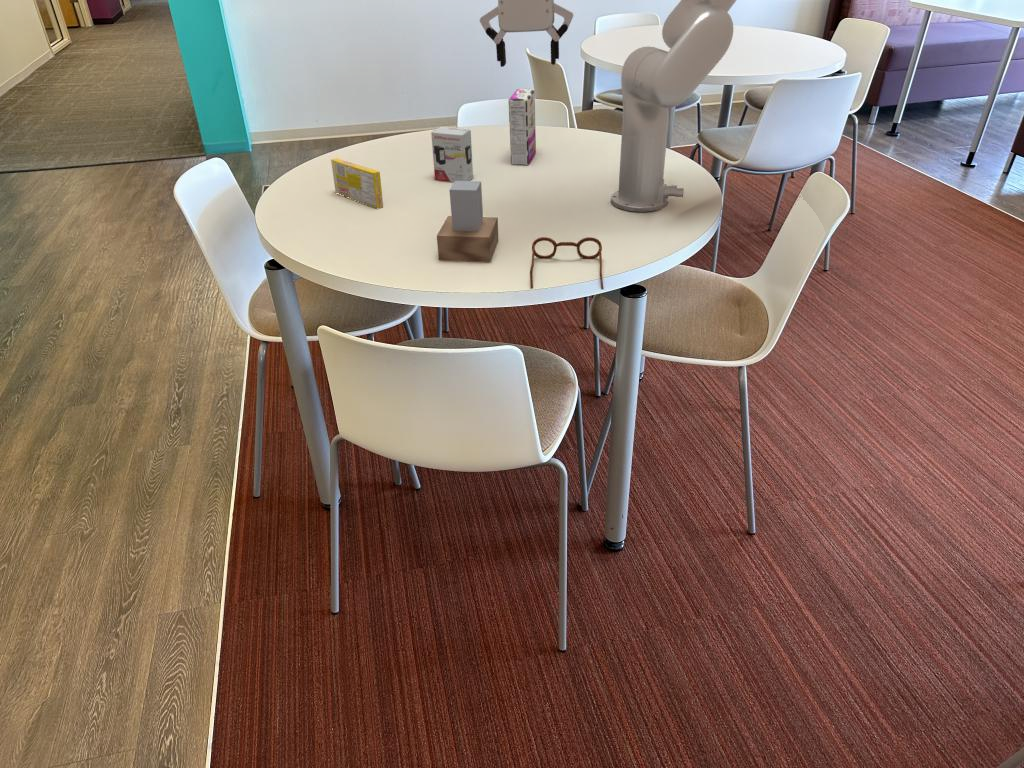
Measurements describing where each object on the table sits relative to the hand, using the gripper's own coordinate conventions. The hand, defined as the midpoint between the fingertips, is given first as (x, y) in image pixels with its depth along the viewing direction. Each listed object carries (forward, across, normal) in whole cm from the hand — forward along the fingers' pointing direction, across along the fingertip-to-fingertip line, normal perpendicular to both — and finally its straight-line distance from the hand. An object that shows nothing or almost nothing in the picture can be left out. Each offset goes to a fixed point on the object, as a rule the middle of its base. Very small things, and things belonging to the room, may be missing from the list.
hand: (528, 64), depth 137 cm
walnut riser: (+30, +11, +18) cm, 37 cm away
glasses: (+31, -8, +27) cm, 42 cm away
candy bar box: (+31, +7, -41) cm, 52 cm away
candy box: (+30, +42, -9) cm, 52 cm away
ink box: (+31, +22, -24) cm, 45 cm away
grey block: (+25, +11, +18) cm, 33 cm away
